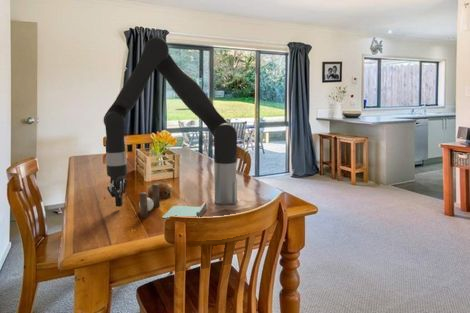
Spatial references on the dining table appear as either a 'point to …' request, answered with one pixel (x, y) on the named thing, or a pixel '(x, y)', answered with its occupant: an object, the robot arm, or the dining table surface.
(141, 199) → the post left
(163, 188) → the coconut
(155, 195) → the post right
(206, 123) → the robot arm
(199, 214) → the stopper strip
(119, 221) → the dining table surface
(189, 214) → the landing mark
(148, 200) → the ball
